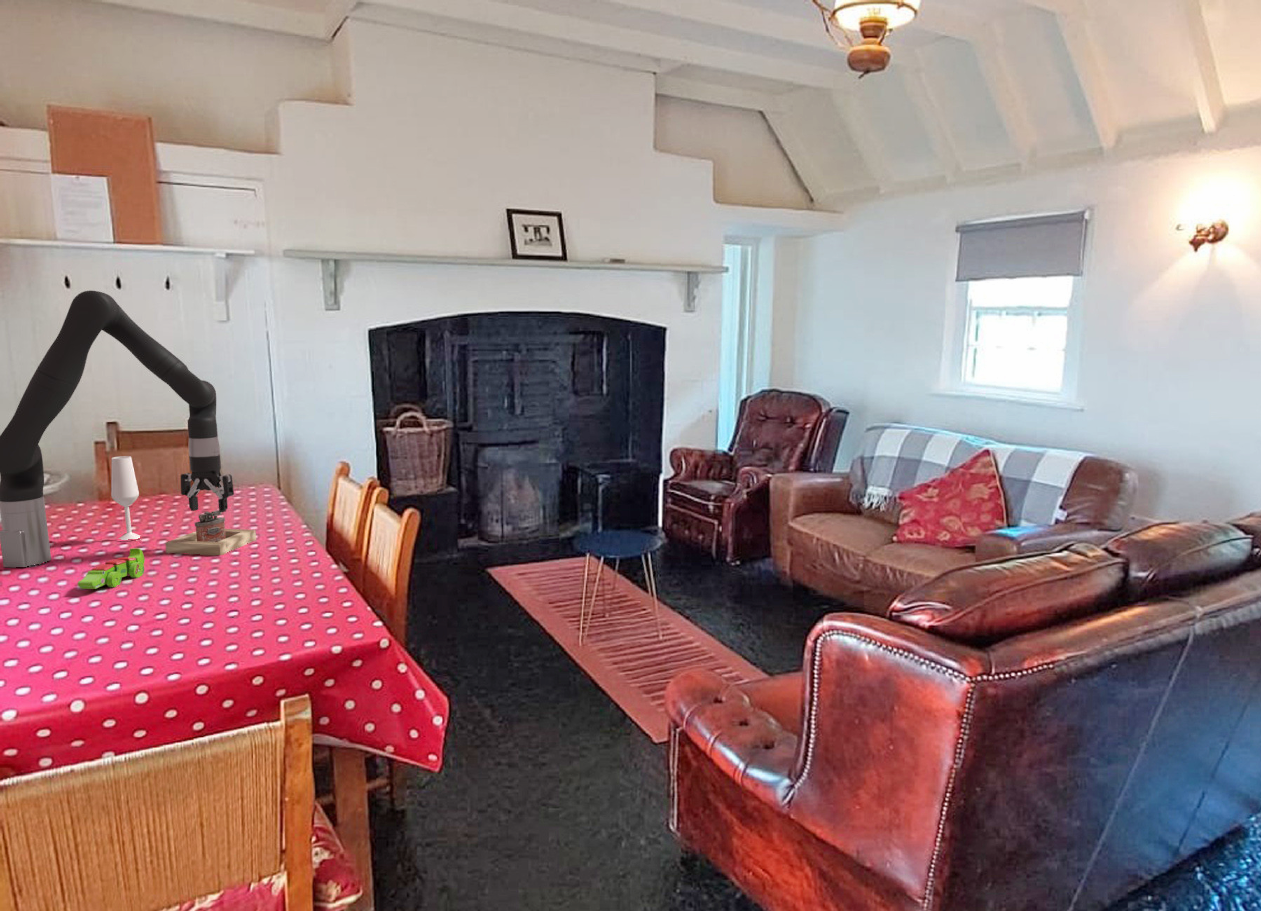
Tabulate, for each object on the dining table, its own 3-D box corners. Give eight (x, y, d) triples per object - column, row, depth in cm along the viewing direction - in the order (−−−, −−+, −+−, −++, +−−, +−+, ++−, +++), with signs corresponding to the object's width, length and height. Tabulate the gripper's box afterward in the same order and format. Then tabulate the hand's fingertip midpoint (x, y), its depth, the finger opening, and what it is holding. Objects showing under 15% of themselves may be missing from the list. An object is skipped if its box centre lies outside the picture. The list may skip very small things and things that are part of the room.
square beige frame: (220, 555, 212) (219, 544, 212) (166, 553, 214) (165, 542, 214) (256, 540, 228) (255, 529, 228) (205, 537, 230) (204, 528, 230)
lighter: (201, 550, 217) (197, 515, 215) (194, 548, 219) (191, 513, 217) (229, 544, 224) (226, 509, 222) (222, 542, 225) (220, 508, 224)
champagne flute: (121, 543, 224) (112, 460, 221) (112, 539, 228) (103, 457, 225) (147, 538, 230) (139, 457, 226) (137, 534, 234) (129, 454, 230)
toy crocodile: (97, 596, 181) (94, 570, 180) (70, 595, 181) (67, 570, 180) (156, 570, 200) (154, 547, 199) (132, 569, 201) (129, 546, 200)
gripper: (171, 454, 214) (176, 513, 217) (219, 456, 212) (223, 515, 215) (190, 450, 222) (194, 507, 224) (237, 452, 220) (240, 509, 222)
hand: (208, 511), depth 220 cm, fingers open, 8 cm apart
